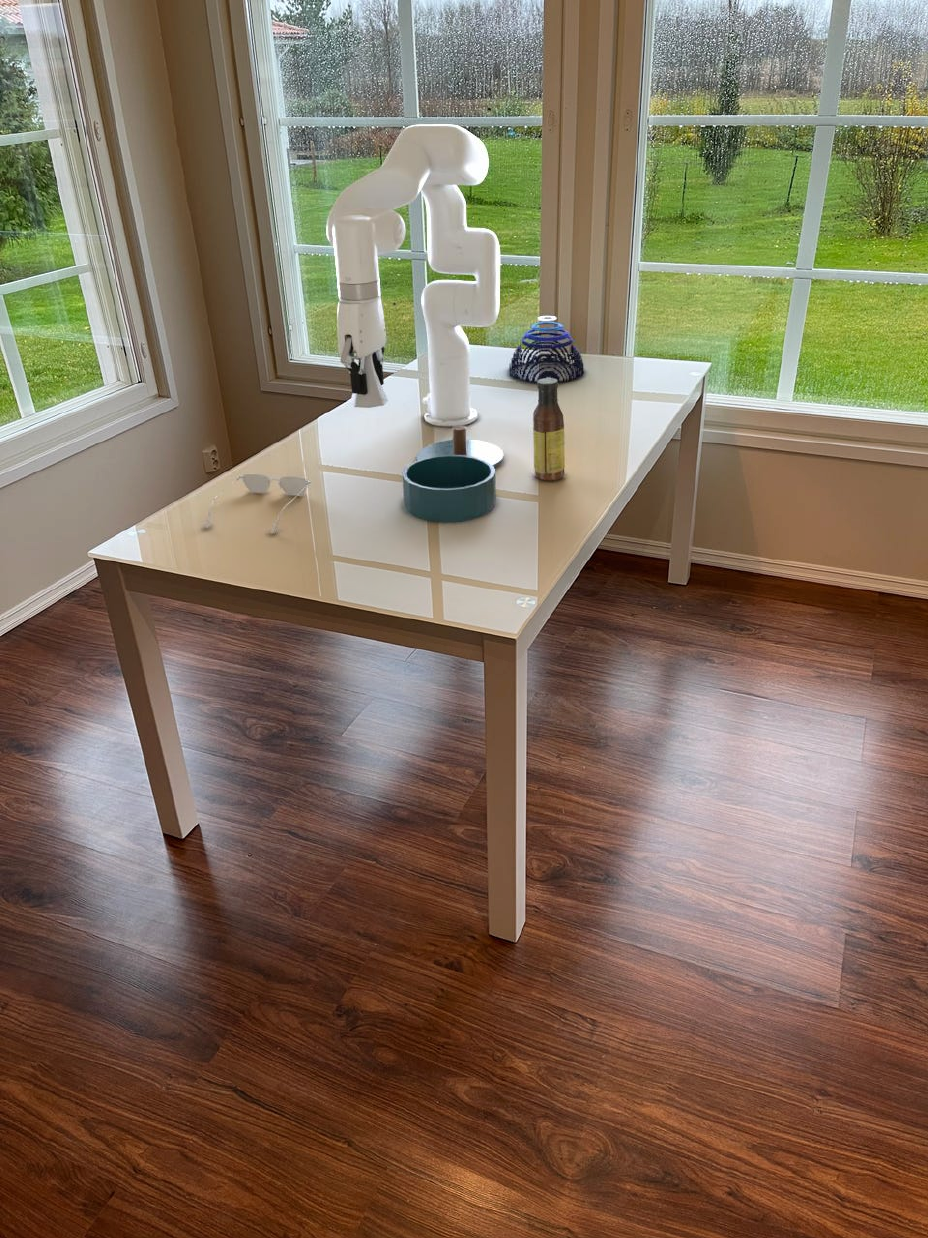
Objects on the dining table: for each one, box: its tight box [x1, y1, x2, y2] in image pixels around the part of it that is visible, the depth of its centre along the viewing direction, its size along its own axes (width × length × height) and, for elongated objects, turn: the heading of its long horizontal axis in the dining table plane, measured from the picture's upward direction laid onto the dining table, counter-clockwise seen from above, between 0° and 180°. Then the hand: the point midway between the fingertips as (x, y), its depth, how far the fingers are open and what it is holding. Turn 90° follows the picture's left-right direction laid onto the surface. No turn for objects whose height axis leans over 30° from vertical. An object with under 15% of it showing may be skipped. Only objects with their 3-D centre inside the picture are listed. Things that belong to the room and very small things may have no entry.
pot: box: [401, 455, 497, 523], centre depth 182 cm, size 18×18×6 cm
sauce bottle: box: [532, 377, 566, 482], centre depth 189 cm, size 7×6×20 cm
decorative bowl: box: [508, 315, 585, 384], centre depth 253 cm, size 20×20×14 cm
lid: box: [416, 425, 505, 468], centre depth 201 cm, size 19×19×7 cm
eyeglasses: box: [205, 472, 312, 534], centre depth 182 cm, size 15×18×4 cm
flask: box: [350, 353, 389, 409], centre depth 179 cm, size 7×7×10 cm
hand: (367, 387), depth 180 cm, fingers closed on flask, 5 cm apart
